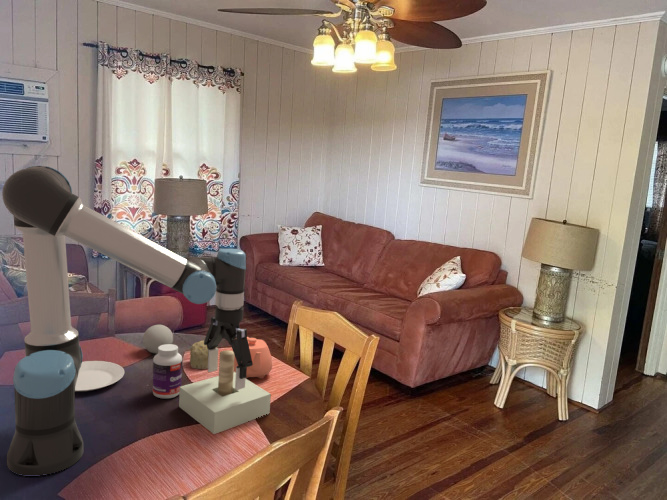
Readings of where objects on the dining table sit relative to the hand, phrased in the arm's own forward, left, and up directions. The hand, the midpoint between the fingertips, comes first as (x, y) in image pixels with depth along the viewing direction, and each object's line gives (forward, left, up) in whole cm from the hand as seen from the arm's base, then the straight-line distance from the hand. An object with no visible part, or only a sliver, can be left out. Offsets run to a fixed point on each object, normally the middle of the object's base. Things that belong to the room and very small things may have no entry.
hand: (225, 379), depth 143 cm
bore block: (0, 0, -9) cm, 9 cm away
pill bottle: (-8, +18, -9) cm, 22 cm away
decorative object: (+12, +31, -10) cm, 35 cm away
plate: (-23, +39, -10) cm, 46 cm away
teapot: (+20, +15, -10) cm, 27 cm away
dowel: (0, 0, -8) cm, 8 cm away
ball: (+4, +48, -9) cm, 49 cm away
